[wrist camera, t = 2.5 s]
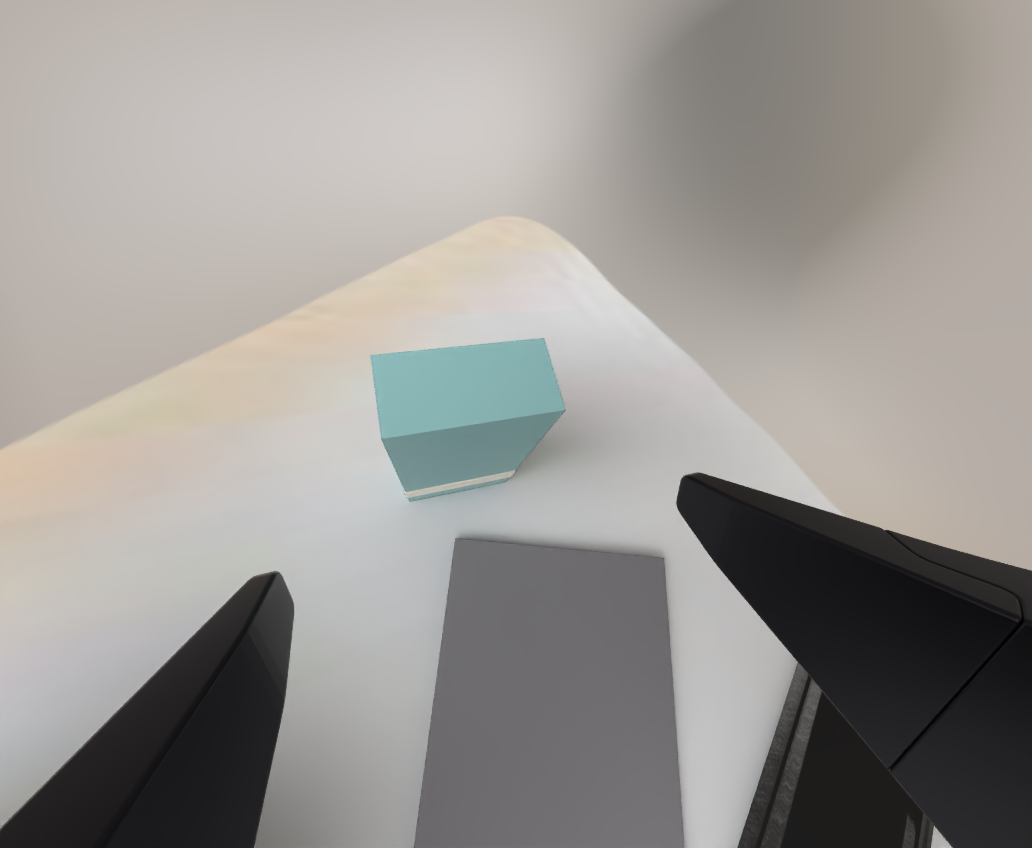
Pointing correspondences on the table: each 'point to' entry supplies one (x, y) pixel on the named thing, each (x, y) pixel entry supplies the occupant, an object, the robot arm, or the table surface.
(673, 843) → the felt mat
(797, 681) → the phone
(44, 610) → the table surface
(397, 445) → the box
